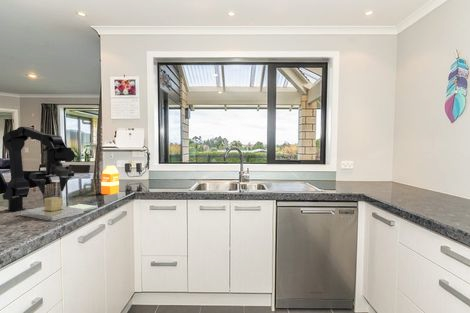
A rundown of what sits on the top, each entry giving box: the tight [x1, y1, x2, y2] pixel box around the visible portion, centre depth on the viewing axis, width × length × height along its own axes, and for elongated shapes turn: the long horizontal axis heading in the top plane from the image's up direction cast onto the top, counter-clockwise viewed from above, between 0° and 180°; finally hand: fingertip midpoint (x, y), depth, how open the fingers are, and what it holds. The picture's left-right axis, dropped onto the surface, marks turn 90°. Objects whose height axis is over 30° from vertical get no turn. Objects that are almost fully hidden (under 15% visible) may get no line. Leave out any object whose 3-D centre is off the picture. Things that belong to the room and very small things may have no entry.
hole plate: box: [20, 205, 85, 222], centre depth 130 cm, size 22×16×2 cm
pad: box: [67, 203, 97, 212], centre depth 143 cm, size 12×10×1 cm
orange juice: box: [100, 165, 120, 195], centre depth 192 cm, size 8×9×20 cm
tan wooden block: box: [43, 196, 63, 212], centre depth 130 cm, size 5×5×8 cm
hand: (52, 192), depth 130 cm, fingers open, 9 cm apart
